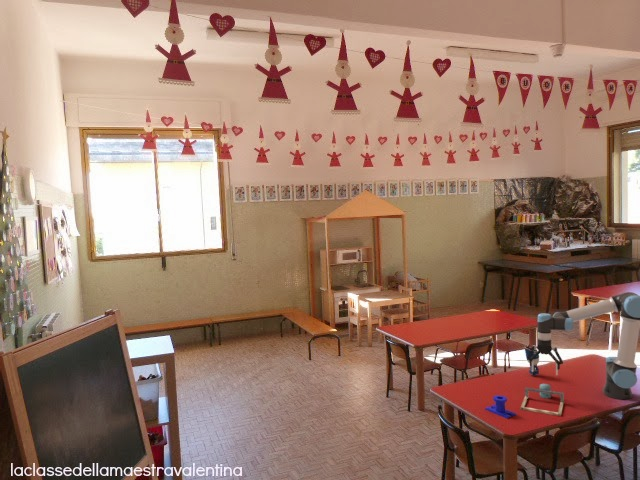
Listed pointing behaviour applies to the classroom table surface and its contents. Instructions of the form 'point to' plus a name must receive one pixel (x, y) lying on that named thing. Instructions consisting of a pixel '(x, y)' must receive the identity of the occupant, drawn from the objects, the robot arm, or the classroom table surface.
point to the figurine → (536, 360)
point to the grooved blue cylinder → (545, 387)
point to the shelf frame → (541, 410)
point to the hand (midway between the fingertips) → (544, 372)
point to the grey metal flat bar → (545, 392)
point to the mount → (500, 407)
